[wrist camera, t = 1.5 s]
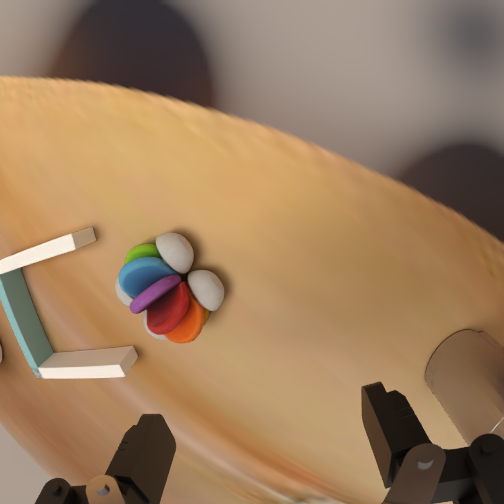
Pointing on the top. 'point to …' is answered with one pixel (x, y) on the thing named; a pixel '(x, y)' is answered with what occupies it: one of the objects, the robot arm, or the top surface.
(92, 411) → the top surface
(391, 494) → the robot arm
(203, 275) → the multicoloured petal flower toy
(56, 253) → the bay
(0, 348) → the supplement tub
